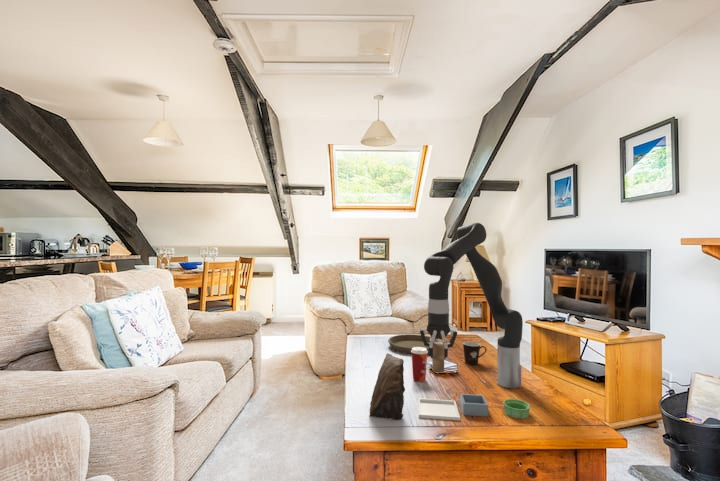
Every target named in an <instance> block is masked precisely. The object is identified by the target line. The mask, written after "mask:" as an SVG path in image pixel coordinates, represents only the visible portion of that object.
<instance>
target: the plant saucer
mask: <svg viewBox="0 0 720 481" xmlns="http://www.w3.org/2000/svg"><path fill="white" fill-rule="evenodd" d="M425 337H426V340H427V342H428V343H429V342H430V338H431V336H428V335H425ZM434 342H441V341H440V339H435V340H434ZM388 344H389V345H390V346H391V348H392V349H393V350H395V351H396V352H399V353H404V354H410V355H412V352H411V350H412V348H413V347H423V348H426V349H427V351H428V353H427V354H429V347H427V346H425V345H424V343H423V340H422V337H421V334H409V333H408V334H398V335H394V336H391V337H389V338H388Z"/></svg>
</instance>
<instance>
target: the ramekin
mask: <svg viewBox="0 0 720 481" xmlns="http://www.w3.org/2000/svg"><path fill="white" fill-rule="evenodd" d="M530 409H531V405H530V404H529V403H528V402H526V401H524V400H521V399H516V398H510V399H509V398H507V399H505V400H503V410H504V413H505V414H506V415H507V416H509V417H512V418H515V419H526V418H529V417H530V416H529V415H530Z"/></svg>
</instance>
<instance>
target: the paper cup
mask: <svg viewBox="0 0 720 481" xmlns="http://www.w3.org/2000/svg"><path fill="white" fill-rule="evenodd" d="M411 352H412V354H411V363H412V365H411V366H412V368H411V369H412V380H413V381H415V382H418V383H421V382H425V381H426V378H427V360H428V354H429V353H428V351H427V349H426V348H423V347H413V348H412V350H411Z"/></svg>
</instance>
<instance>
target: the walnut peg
mask: <svg viewBox="0 0 720 481" xmlns="http://www.w3.org/2000/svg"><path fill="white" fill-rule="evenodd" d="M431 360H432V361H431V362H432V364H431V365H432V366H431V367H432V372H433V373H440V374H444V373H445V359H444V344H443V341H440V342H434V343H433V358H431Z"/></svg>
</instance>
